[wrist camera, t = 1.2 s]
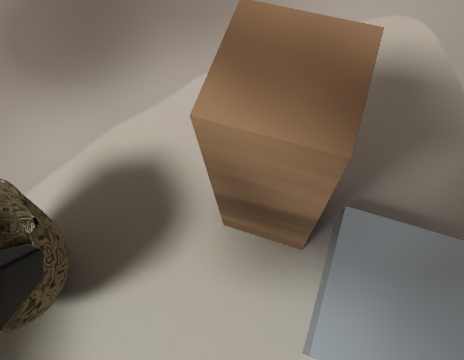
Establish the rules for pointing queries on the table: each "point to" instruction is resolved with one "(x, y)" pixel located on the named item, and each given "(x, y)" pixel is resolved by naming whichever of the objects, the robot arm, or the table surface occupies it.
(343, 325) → the slate block
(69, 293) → the table surface
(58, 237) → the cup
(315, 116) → the walnut pillar
